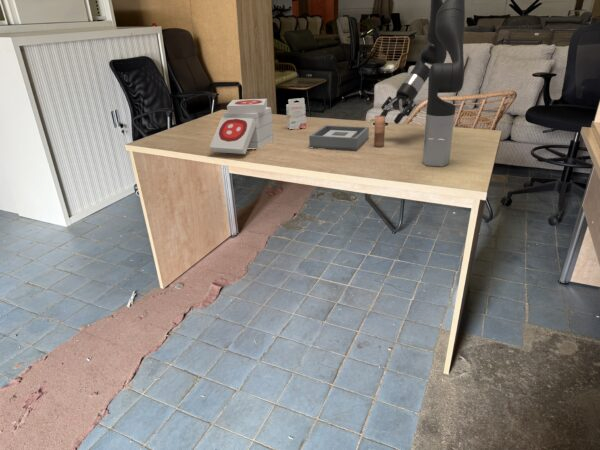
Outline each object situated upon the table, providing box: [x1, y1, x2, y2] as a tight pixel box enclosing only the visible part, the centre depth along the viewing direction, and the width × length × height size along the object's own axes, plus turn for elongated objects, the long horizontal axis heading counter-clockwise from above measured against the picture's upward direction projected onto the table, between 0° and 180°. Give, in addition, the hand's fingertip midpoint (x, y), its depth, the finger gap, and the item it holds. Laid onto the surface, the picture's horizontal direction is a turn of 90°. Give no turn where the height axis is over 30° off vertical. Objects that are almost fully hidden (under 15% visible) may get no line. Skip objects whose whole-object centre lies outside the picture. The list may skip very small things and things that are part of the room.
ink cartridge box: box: [285, 97, 307, 130], centre depth 204 cm, size 9×5×15 cm, turn 105°
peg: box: [373, 115, 386, 149], centre depth 170 cm, size 4×4×12 cm
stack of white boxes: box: [209, 98, 274, 155], centre depth 175 cm, size 19×30×18 cm, turn 158°
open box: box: [308, 124, 370, 152], centre depth 178 cm, size 20×20×5 cm
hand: (388, 121), depth 170 cm, fingers open, 8 cm apart
